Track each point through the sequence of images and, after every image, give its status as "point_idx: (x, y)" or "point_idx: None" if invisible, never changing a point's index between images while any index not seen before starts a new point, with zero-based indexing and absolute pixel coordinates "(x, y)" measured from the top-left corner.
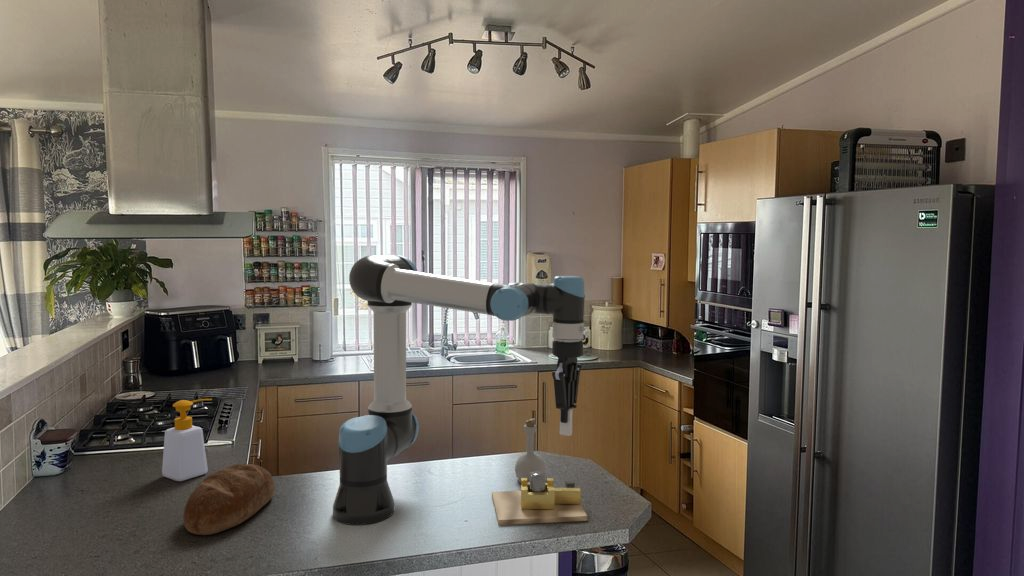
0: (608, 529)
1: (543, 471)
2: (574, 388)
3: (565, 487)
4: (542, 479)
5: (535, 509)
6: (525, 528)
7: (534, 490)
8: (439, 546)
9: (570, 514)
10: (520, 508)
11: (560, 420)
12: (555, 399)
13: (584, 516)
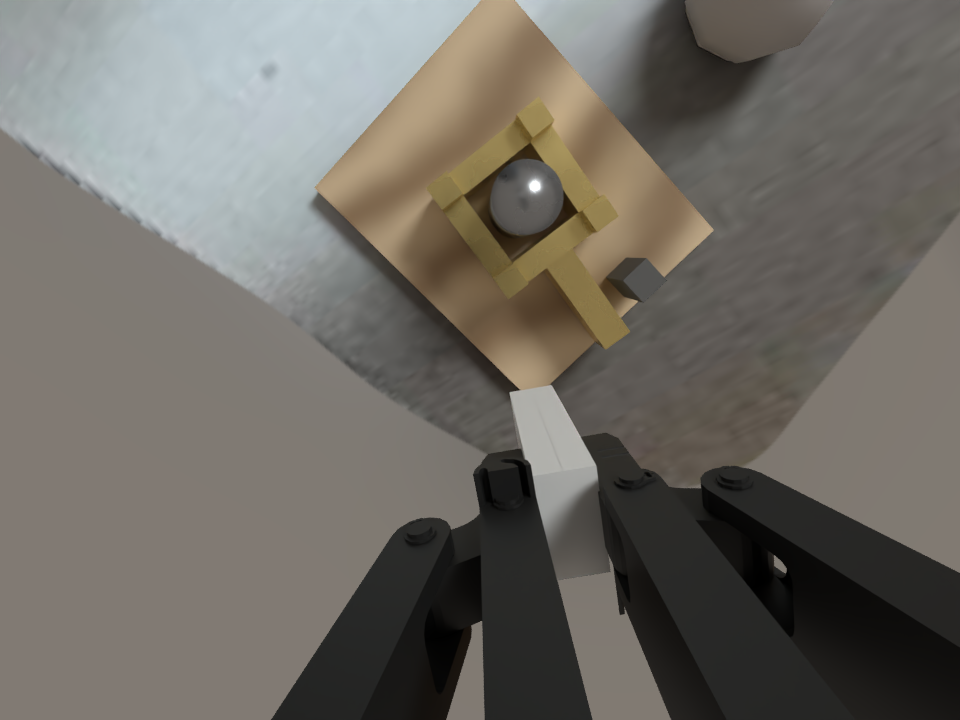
0: None
1: (771, 53)
2: (864, 706)
3: (637, 258)
4: (515, 233)
5: None
6: (360, 277)
7: (490, 211)
8: (77, 140)
9: (507, 353)
10: None
11: (482, 462)
12: (347, 604)
13: None
